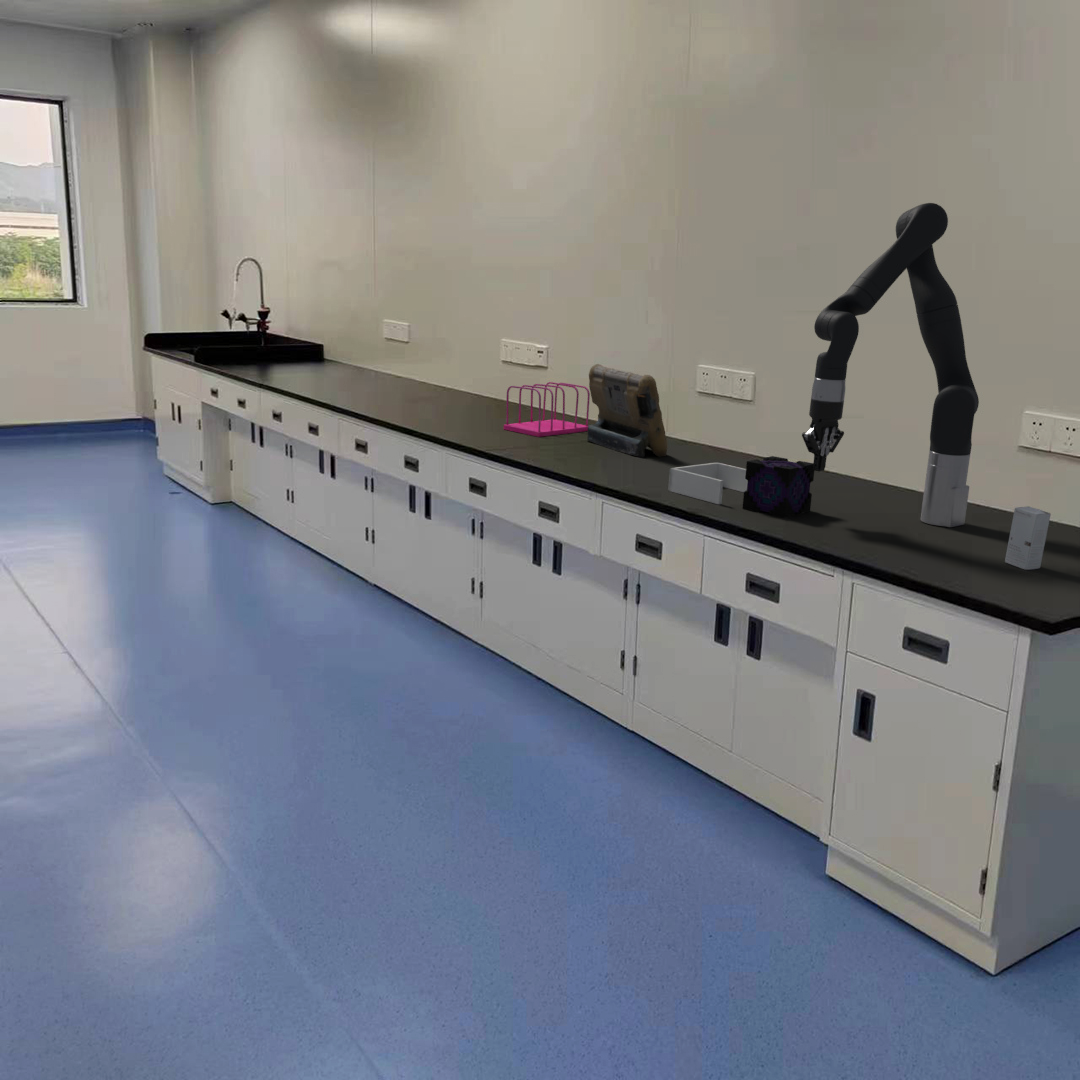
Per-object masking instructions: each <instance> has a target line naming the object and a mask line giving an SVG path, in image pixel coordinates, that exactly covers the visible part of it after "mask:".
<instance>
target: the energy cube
mask: <svg viewBox="0 0 1080 1080" xmlns="http://www.w3.org/2000/svg"><path fill="white" fill-rule="evenodd" d="M745 469H746V475H745V479H746V480H748V484H747V490H746V491H745V492H743V500H742V510H747V511H752V512H757V513H760V512H766V513H768V514H769V515H771V516H774V517H779V518H784V519H785V518H791V517H794V516H795V513H798V514H804V513H809V512H810V511H811V506H812V499H813V497H812V495H813V494H812V493H811V489H810V488H811V483H813V482H814V479H815V478H814V477H815V470H814V469H813V462H808V461H802V460H797V461H795V462H794V461H791V460H790V461H789V458H785V457H780V456H774V455H772V456H766V457H763V460H759V459H751V460H747V461H746V465H745Z"/></svg>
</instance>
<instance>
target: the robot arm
mask: <svg viewBox="0 0 1080 1080" xmlns="http://www.w3.org/2000/svg"><path fill="white" fill-rule="evenodd" d="M948 226H949V217H948V214H947V212H946V210H945V209H944V208H943V207H942V206H941V205H940V204H938V203H935V202H927V203H922V204H921V203H920V204H919V205H917V206H914V207H912V208H910V209H908V210H906V211H904V212H903V213H901V214H900V216H899V217H898V219H897V220H896V223H895V236H896V240H895V242H893V244H891V245H890V246H889V248H887V249H886V251H885V252H884V253H882V254H881V255H880V256H878V258H877V259H875V260H874V261H873V262H871V264H870V265H868V266H867V267H866V268H865V270H863V272H862V273H860V275H859V276H858V277H857V278H856V279H855V281H853V283H852V285H850V286H849V288H848V289H847V290H846V291H845V292H844V293H842V294H841V295H840V296H838V297H837V298H835V299H834V300H833V301H831V303H829V304H828V305H827V306H825V307H824V308H823V310H821V312H820V313H819V314H818V315H817V317H816V319H815V321H814V327H813V328H814V334H815V336H817V338H818V339H820V340H823V341H827V342H830V343H829V346H828V348H827V351H824V352H820V353H819V354H818V356H817V358H816V363H815V371H814V380H813V383H812V388H811V397H810V404H809V412H808V415H809V418H810V417H811V422H810V424H809V430H808V431H807V432H806V431H805V432H803V431H802V433H801V437H802V439H803V442H804V444H805V446H806V449H807V451H808V453H811V454H813V462H812V463H813V469H814V472H818V473H819V472H824V471H825V468H826V466H827V465H826V463H827V457H828V456H829V455H830V454H831V453H834V452H835V450H836V448H837V447H838V445H839V444H840V442H841V440H842V438H843V437H844V435H845V431H844V430H840V428H839V421H840V420H841V419H842V418H843V411H844V404H845V397H846V396H845V395H846V380H847V372H848V371H847V370H848V363H849V360H850V358H851V355H852V352H853V350H854V347H855V344H856V342H857V339H858V337H859V332H860V329H859V328H860V326H859V320H858V318H857V316H862V315H863V316H864V315H866V314H867V313H869V312H870V311H871V310H872V309H873V307H875V306H876V304H877V303H878V302H879V301H880V300H881V298H882V297H883V296H884V295H885V294H886V293H887V291H888V290H889V288H891V286H892V285H893V284H894V283H895V282H896V281H897V279H899V277H900V276H901V275H902V274H903V273H904V272H905V271H907V274H908V278H909V279H908V280H909V283H910V288H911V294H912V298H913V300H914V307H915V312H916V319H917V322H918V328H919V330H920V335H921V337H922V341H923V343H924V345H925V348H926V351H927V353H928V354H929V357H930V359H931V361H932V364H933V366H934V370H935V375H936V383H937V389H938V390H937V392H938V394H937V395H936V396H935V399H934V402H933V406H932V407H933V408H932V415H931V422H930V423H931V424H930V431H929V432H930V433H929V441H930V442H929V443H930V444H929V451H928V452H929V453H928V458H927V459H928V460H927V464H926V465H927V467H926V474H925V481H924V489H923V496H922V504H921V511H920V514H921V515H920V521H921V522H922V523H925V524H929V525H933V526H939V527H947V528H953V527H958V526H963V525H965V523H966V521H965V520H966V515H967V506H968V501H969V500H968V499H969V494H970V485H967V482H968V473H969V466H970V459H971V452H972V436H973V426H974V420H975V415H976V413H977V411H978V408H979V404H980V402H979V400H980V399H979V395H978V393H977V389H976V387H975V384H974V381H973V378H972V375H971V372H970V369H969V365H968V360H967V355H966V346H965V339H964V332H963V331H964V330H963V325H962V320H961V314H960V309H959V305H958V300H957V297H956V294H955V293H954V291H953V290H952V289H953V288H951V286H950V285H949V283H948V282H947V280H946V278H945V277H944V275H943V274H942V272H941V271H940V269H939V267H938V264H937V262H936V257H935V250H934V247H933V245H934V243H936V242H938V241H939V240H940V239H941V238H942V237H943V236H944V235H945V233H946V231H947V228H948Z"/></svg>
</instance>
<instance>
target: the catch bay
mask: <svg viewBox="0 0 1080 1080" xmlns="http://www.w3.org/2000/svg"><path fill="white" fill-rule="evenodd" d="M668 473H669V474H668V487H667V488H668V492H672V493H675V494H679V495H683V496H685V497H690V498H694V499H697V500H701V501H704V502H707V503H711V504H712V503H713V504H715V505H722V500H723V499H722V498H723V489H724V488H726V489H730V490H734V491H737V492H741V493H744V492H745V491H746V490H747V484H748V480H746V479H745V475H746V468H744V467H738V466H734V465H730V464H725V463H722V462H718V461H717V462H709V463H701V464H693V465H685V466H678V467H677V466H676V467H670V468H669V472H668Z"/></svg>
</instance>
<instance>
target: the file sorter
mask: <svg viewBox="0 0 1080 1080" xmlns="http://www.w3.org/2000/svg"><path fill="white" fill-rule="evenodd" d="M562 386H563V387H568V388H572V389H574V390H575V392H576V399H575V400H576V402H575V412H574V413H575V416H574V422H572V421H571V422H570V421H568V420H567V421H566V420H565V419H566V418H565V417H566V414H565V413H566V410H565V409H566V408H565V407H566V400H565V399H566V395H565V394H566V393H565V390H564V388H563V387H562ZM549 387H550V388H549ZM513 388H514V389H519V395H518V422H516V423H515V422H514V423H509V398H510V396H509V394H510V390H511V389H513ZM551 388H554V389H555V393H553V391H552V389H551ZM578 388H582V389H585V391H586V392H587V403H586V417H585V418H586V419H585V424H581V423H577V422H578V411H579V410H578V409H579V408H578V407H579V398H580V397H579V396H580V395H579V389H578ZM538 389H540V390H544V391H543V402H542V395H541V392H540V391H539V390H538ZM558 389H560V390H561V393H562V419H557V404H558V403H557V402H558V401H557V400H558V398H557V397H558ZM522 390H530V421H526V422H521V421H522V420H521V416H522V415H521V414H522ZM547 390H548V391H549V393H550V394H551V406H550V407H551V408H550V413H551V414H550V419H545V417H546V416H545V414H546V398H547ZM534 392H536V393H537V395H538V420H535V421H534V420H533V418H534V417H533V415H534V414H533V413H534V412H533V410H534V409H533V408H534V407H533V405H534V402H533V400H534V397H533V396H534ZM590 398H591V392H590V389H588V387H587V386H584V385H580V384H575V383H574V384H573V383H567V382H553V381H549V382H547V383H546V384H543V383H535V384H533V385H529V384H522V385H521V386H517V385H511V386H509V387H508V388H507V389H506V407H505V408H506V409H505V410H506V413H505V414H506V415H505V416H506V417H505V418H506V419H505V420H506V423H505V424H503V430H505V431H509V432H515V433H519V434H523V435H528V436H533V437H537V438H540V437H551V436H558V435H566V434H567V435H569V434H574V433H575V434H576V433H581V432H582V433H583V432H584V433H585V432H588V426H589V413H590ZM542 403H543V405H542ZM541 406H543V407H541ZM541 411H542V412H541ZM541 414H542V417H541ZM541 418H542V420H541Z"/></svg>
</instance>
